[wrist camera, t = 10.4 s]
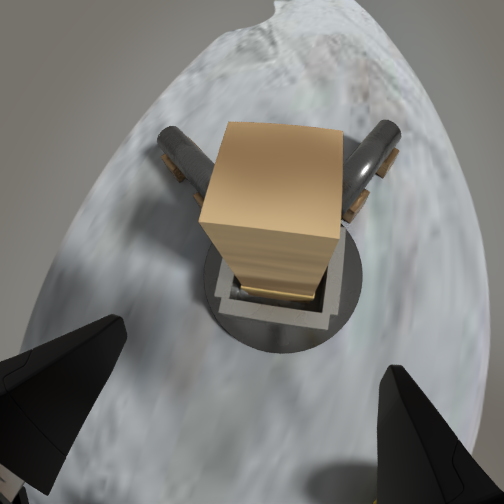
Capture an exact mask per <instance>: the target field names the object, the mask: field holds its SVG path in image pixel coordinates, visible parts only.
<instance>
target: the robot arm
mask: <svg viewBox="0 0 504 504" xmlns="http://www.w3.org/2000/svg"><path fill="white" fill-rule="evenodd" d="M126 340H127V331H126V328H125V324H124V321H123V318H122V317H121V316H117V315H114V314H111V315H108V316H106V317H104V318H101V319H99V320H97V321H95V322H92V323H90V324H88V325H86V326H83V327H81V328H79V329H77V330H74V331H72V332H70V333H67V334H65V335H63V336H61V337H58V338H56V339H54V340H52V341H49V342H47V343H45V344H42V345H40V346H38V347H36V348H33V350H32V349H31V350H29V351H27V352H24V353H22V354H19V355H17V356H15V357H12V358H9V359H6V360H4V361H1V362H0V504H29V502H28V497H27V493H26V489H25V487H24V486H23V485H24V483H25V482H26V483H28V484H29V485H31V486H32V487H34V488H35V489H37V490H38V491H40V492H42V493H43V494H45V495H47V496H48V495H49V493H50V491H51V489H52V487H53V484H54V482H55V480H56V478H57V476H58V474H59V472H60V469H61V467H62V465H63V463H64V461H65V459H66V456H67V455H68V453H69V451H70V449H71V447H72V445H73V443H74V441H75V439H76V437H77V435H78V433H79V431H80V429H81V427H82V425H83V424H84V422H85V420H86V418H87V416H88V414H89V412H90V410H91V409H92V407H93V405H94V403H95V401H96V400H97V398H98V396H99V394H100V392H101V391H102V389H103V387H104V385H105V384H106V382H107V380H108V378H109V377H110V375H111V373H112V371H113V369H114V366H115V364H116V362H117V360H118V357H119V355H120V353H121V351H122V349H123V346H124V344H125V342H126ZM377 454H378V468H377V500H376V504H504V492H503V491H502V490H501V489H499V487H498V486H497V485H496V484H495V483H494V482H493V481H492V480H491V478H490V477H489V476H488V475H487V474H486V473H485V472H484V470H483V469H482V468H481V467H480V466H479V465H478V464H477V462H476V461H475V460H474V459H473V458H472V456H471V455H470V454H469V452H468V451H467V450H466V448H465V447H464V446H463V444H462V443H461V441H460V440H458V437H457V436H456V435H455V433H454V432H453V431H452V429H451V428H450V427H449V425H448V424H447V423H446V421H445V420H444V419H443V417H442V416H441V415H440V413H439V412H438V411H437V409H436V408H435V407H434V405H433V404H432V403H431V401H430V400H429V399H428V398H427V396H426V395H425V394H424V392H423V391H422V390H421V389H420V387H419V386H418V385H417V384H416V382H415V381H414V380H413V378H412V377H411V376H410V375H409V373H408V372H407V371H406V370H405V368H404V367H403V366H401V365H390V366H389V367H388V368H387V370H386V372H385V374H384V376H383V378H382V379H381V382H380V386H379V404H378V419H377Z"/></svg>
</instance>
